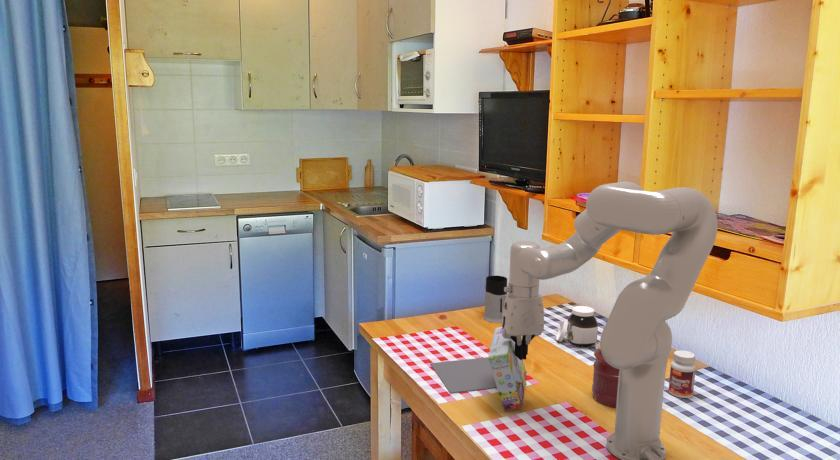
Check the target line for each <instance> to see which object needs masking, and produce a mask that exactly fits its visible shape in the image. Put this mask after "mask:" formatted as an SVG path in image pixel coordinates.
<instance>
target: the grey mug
mask: <svg viewBox="0 0 840 460" xmlns="http://www.w3.org/2000/svg"><path fill="white" fill-rule="evenodd" d="M507 286H508V278H507V277H506V276H503V275H502V276H501V275H489V276H488V275H487V276H486V277H485V287H484V292H485V293H484V315H483V319H482V320H484V321H486V322H488V323H494V324H495V323H497V324H499V323H501V324H502V316H503V308H504V303H505V299H506V295H507V294H509V293H508V292H504V287H507Z"/></svg>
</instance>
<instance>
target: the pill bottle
mask: <svg viewBox="0 0 840 460" xmlns="http://www.w3.org/2000/svg"><path fill="white" fill-rule="evenodd" d="M695 359H696V355H695V353H693V352H691V351H689V350H676V351H674V352H673V360H672V361H671V363H670V373H669V382H668V392H669V394H670V395H672V396H673V397H677V398H681V399H690V398H692V396H694V388H695V387H694V386H695V380H696V379H695V378H696V370H697V369H696V368H697V367H696V364H695V361H696V360H695Z"/></svg>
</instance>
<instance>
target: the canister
mask: <svg viewBox="0 0 840 460" xmlns="http://www.w3.org/2000/svg"><path fill="white" fill-rule="evenodd" d="M597 347H598V348H597V349H596V350H594V352H593V356H594V357H595V361H594V363H593V376H592V377H593V378H592V384H591V385H592V386H591V392H592V397H593V399H595V401H597V402H598V403H600V404H603V405H604V406H608V407H612V408H616V404H617V390H618V378H619V370H620V369H617V368H614V367H612V366H611V365H609V364H608V363H607V362H606V361H605V359H604V358H603V356H602V353H601V349H600V341H599V342H598V344H597Z"/></svg>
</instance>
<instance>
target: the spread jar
mask: <svg viewBox="0 0 840 460" xmlns="http://www.w3.org/2000/svg"><path fill="white" fill-rule="evenodd" d="M571 312H572V313H571V314H570V315H569V316H568V317H567V321H565V320H563V321H562V322H561V323H560V325H559V327H558V331H557V333H556V336H555V337H556V338H555V340H556V341H558V342H560V343H561V342H563V340H564V338H565V337H566V336H567V340H568V342H569V344H570V345H572V346H573V347H578V348H590V347H592V346H594V345H595V344H596V343H597V341H598V333H599V332H598V331H599V329H598V328H599V327H598V326H599V325H598V321H597V319H596V317H595V309H594V308H592V307H590V306H586V305H585V306H584V305H576V306H573V307H572V310H571Z"/></svg>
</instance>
